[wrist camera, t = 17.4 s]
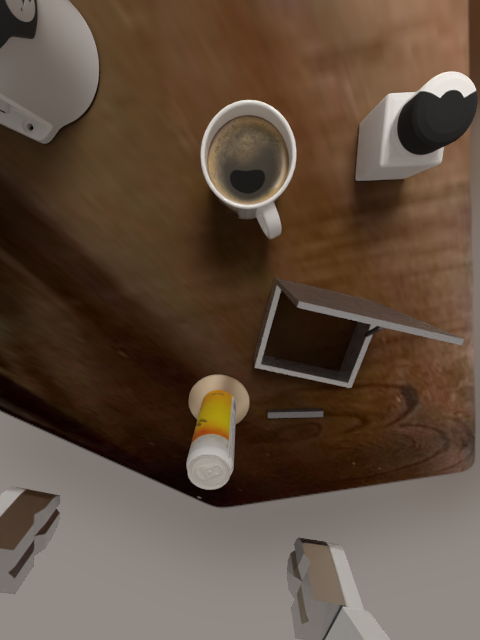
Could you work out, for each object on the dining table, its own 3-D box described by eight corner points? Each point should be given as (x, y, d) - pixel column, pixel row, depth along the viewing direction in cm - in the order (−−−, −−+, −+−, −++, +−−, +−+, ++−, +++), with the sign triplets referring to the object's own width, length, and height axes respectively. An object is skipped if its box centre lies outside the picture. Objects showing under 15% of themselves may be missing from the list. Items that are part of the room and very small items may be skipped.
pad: (184, 420, 48) (183, 421, 47) (194, 368, 45) (194, 369, 44) (241, 431, 48) (241, 433, 48) (255, 381, 45) (255, 382, 45)
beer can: (197, 393, 46) (176, 461, 31) (229, 383, 45) (223, 447, 31) (209, 420, 47) (195, 497, 33) (240, 411, 47) (240, 485, 32)
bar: (267, 414, 48) (267, 418, 46) (267, 408, 47) (267, 412, 46) (320, 412, 47) (322, 416, 46) (321, 407, 47) (323, 411, 46)
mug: (293, 152, 35) (315, 112, 25) (273, 241, 39) (285, 239, 28) (218, 136, 35) (208, 88, 24) (205, 227, 38) (190, 220, 28)
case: (253, 357, 44) (260, 428, 27) (274, 277, 40) (299, 301, 23) (341, 376, 45) (404, 457, 27) (370, 299, 41) (464, 339, 24)
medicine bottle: (404, 179, 36) (480, 148, 25) (354, 181, 36) (406, 151, 25) (412, 120, 34) (499, 55, 23) (358, 122, 34) (417, 60, 23)
